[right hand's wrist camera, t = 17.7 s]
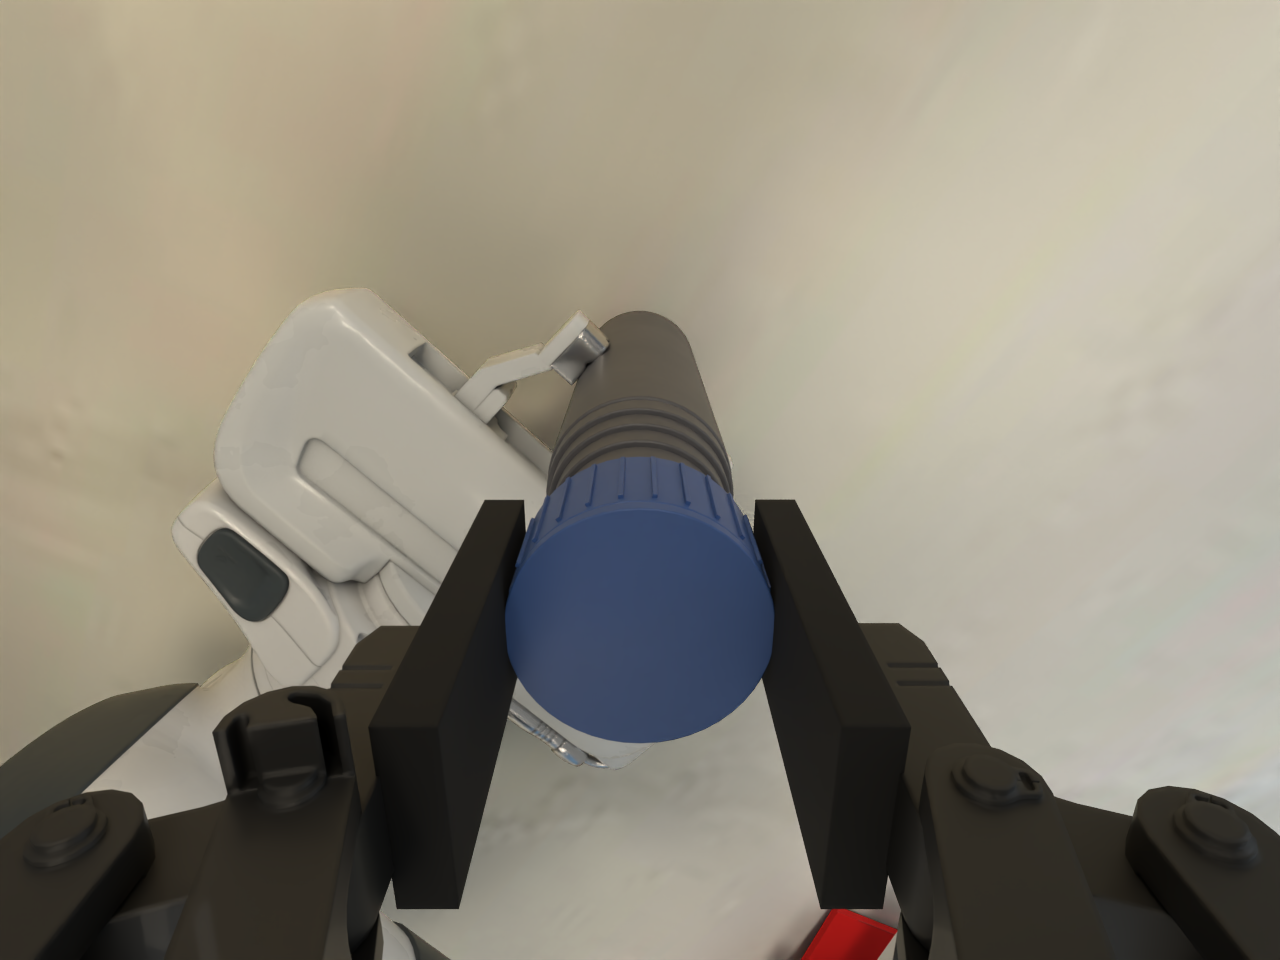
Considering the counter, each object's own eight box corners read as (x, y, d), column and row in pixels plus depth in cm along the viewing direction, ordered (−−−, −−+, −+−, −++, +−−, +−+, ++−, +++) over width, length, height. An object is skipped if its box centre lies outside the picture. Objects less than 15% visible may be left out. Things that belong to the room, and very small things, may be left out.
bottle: (714, 352, 32) (831, 589, 12) (652, 436, 33) (671, 769, 14) (625, 288, 31) (602, 440, 12) (565, 378, 32) (454, 649, 13)
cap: (746, 437, 14) (768, 487, 11) (765, 649, 15) (788, 731, 13) (501, 469, 14) (473, 524, 12) (545, 675, 15) (529, 760, 13)
